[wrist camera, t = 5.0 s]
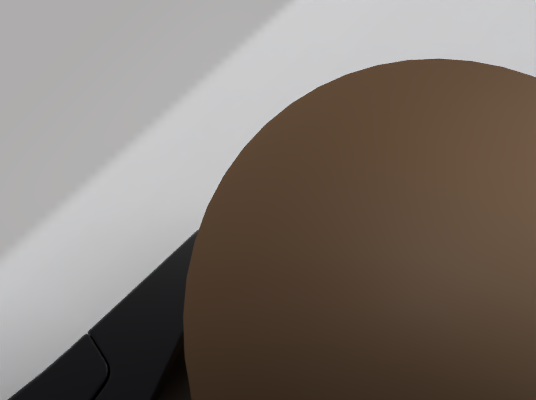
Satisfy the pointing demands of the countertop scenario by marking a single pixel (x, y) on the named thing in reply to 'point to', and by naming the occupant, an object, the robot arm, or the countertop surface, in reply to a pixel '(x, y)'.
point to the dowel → (375, 244)
